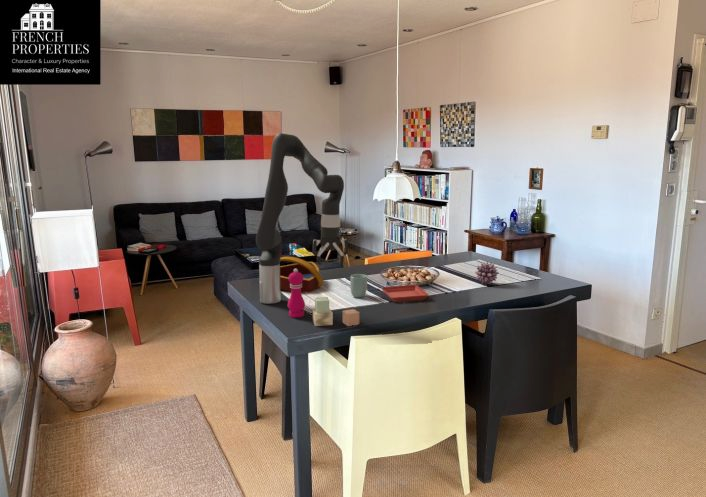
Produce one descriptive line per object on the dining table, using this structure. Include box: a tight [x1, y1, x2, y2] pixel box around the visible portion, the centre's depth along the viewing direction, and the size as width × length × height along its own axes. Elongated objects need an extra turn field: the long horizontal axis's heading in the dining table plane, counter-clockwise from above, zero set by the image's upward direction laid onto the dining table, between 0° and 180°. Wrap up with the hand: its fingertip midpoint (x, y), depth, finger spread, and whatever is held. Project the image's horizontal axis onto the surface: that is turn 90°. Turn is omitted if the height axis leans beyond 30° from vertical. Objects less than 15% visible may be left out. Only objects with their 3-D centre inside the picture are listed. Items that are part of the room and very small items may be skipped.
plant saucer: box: [380, 284, 430, 303], centre depth 251 cm, size 18×18×3 cm
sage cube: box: [314, 296, 330, 313], centre depth 212 cm, size 5×5×5 cm
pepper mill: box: [287, 269, 306, 319], centre depth 221 cm, size 7×7×20 cm
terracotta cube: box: [342, 308, 360, 327], centre depth 212 cm, size 5×5×5 cm
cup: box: [349, 273, 368, 299], centre depth 250 cm, size 8×8×10 cm
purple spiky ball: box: [474, 261, 500, 285], centre depth 273 cm, size 12×12×12 cm
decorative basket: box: [280, 256, 324, 293], centre depth 271 cm, size 34×29×15 cm
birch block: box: [312, 307, 334, 327], centre depth 213 cm, size 7×7×5 cm
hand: (330, 264), depth 216 cm, fingers open, 8 cm apart
